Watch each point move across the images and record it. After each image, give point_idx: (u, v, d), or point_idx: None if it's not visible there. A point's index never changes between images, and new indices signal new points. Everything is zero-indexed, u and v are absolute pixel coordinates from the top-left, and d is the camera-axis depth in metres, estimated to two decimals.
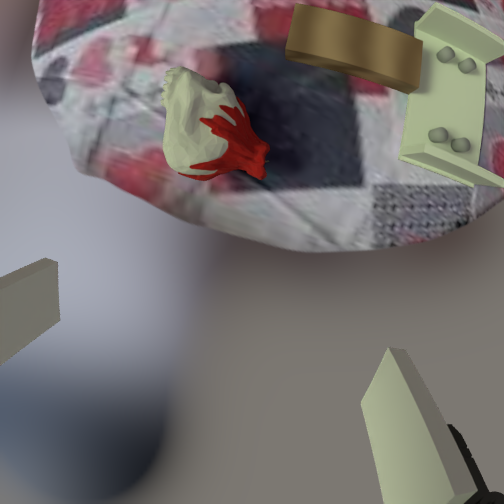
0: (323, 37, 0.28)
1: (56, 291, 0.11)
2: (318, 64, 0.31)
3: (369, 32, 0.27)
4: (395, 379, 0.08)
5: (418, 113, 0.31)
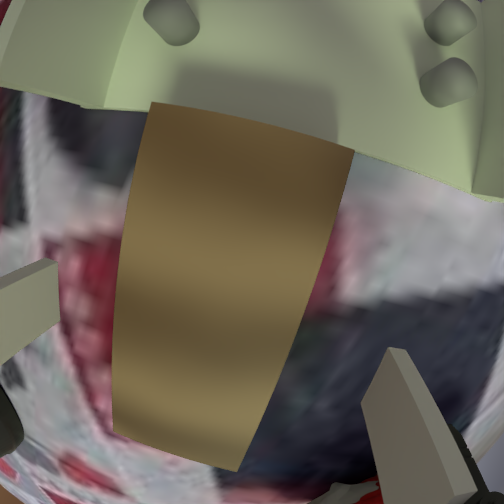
0: (199, 414, 0.12)
1: (56, 291, 0.11)
2: None
3: (155, 297, 0.11)
4: (395, 379, 0.08)
5: (388, 126, 0.12)
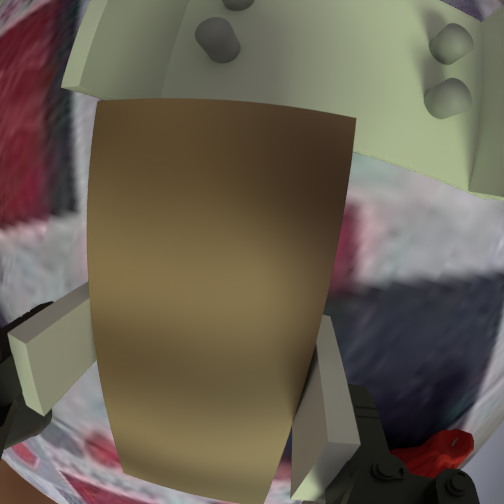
0: (210, 456, 0.10)
1: None
2: None
3: (135, 334, 0.09)
4: None
5: (397, 135, 0.14)
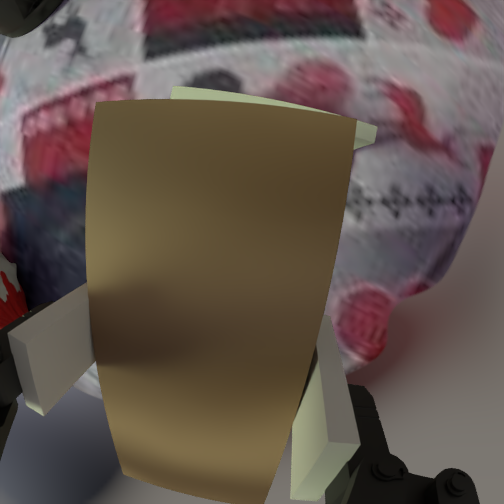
0: (210, 457, 0.10)
1: None
2: None
3: (134, 336, 0.09)
4: None
5: None
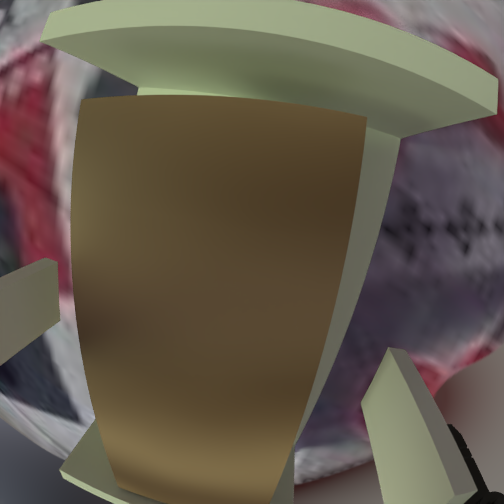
0: (207, 474, 0.09)
1: (56, 291, 0.11)
2: None
3: (124, 352, 0.08)
4: (395, 379, 0.08)
5: None
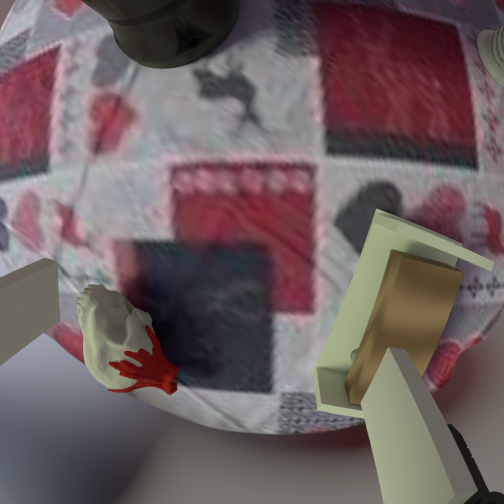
0: None
1: (56, 291, 0.11)
2: None
3: (397, 331, 0.26)
4: (395, 379, 0.08)
5: (344, 334, 0.33)
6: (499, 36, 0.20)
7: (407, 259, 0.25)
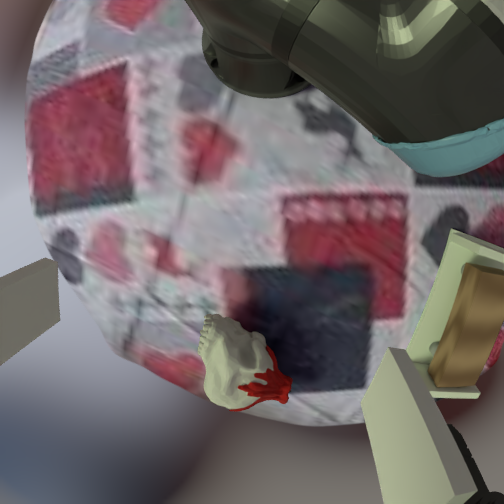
0: (472, 362, 0.30)
1: (56, 291, 0.11)
2: None
3: (473, 326, 0.29)
4: (395, 379, 0.08)
5: (425, 331, 0.37)
6: None
7: (483, 272, 0.28)
